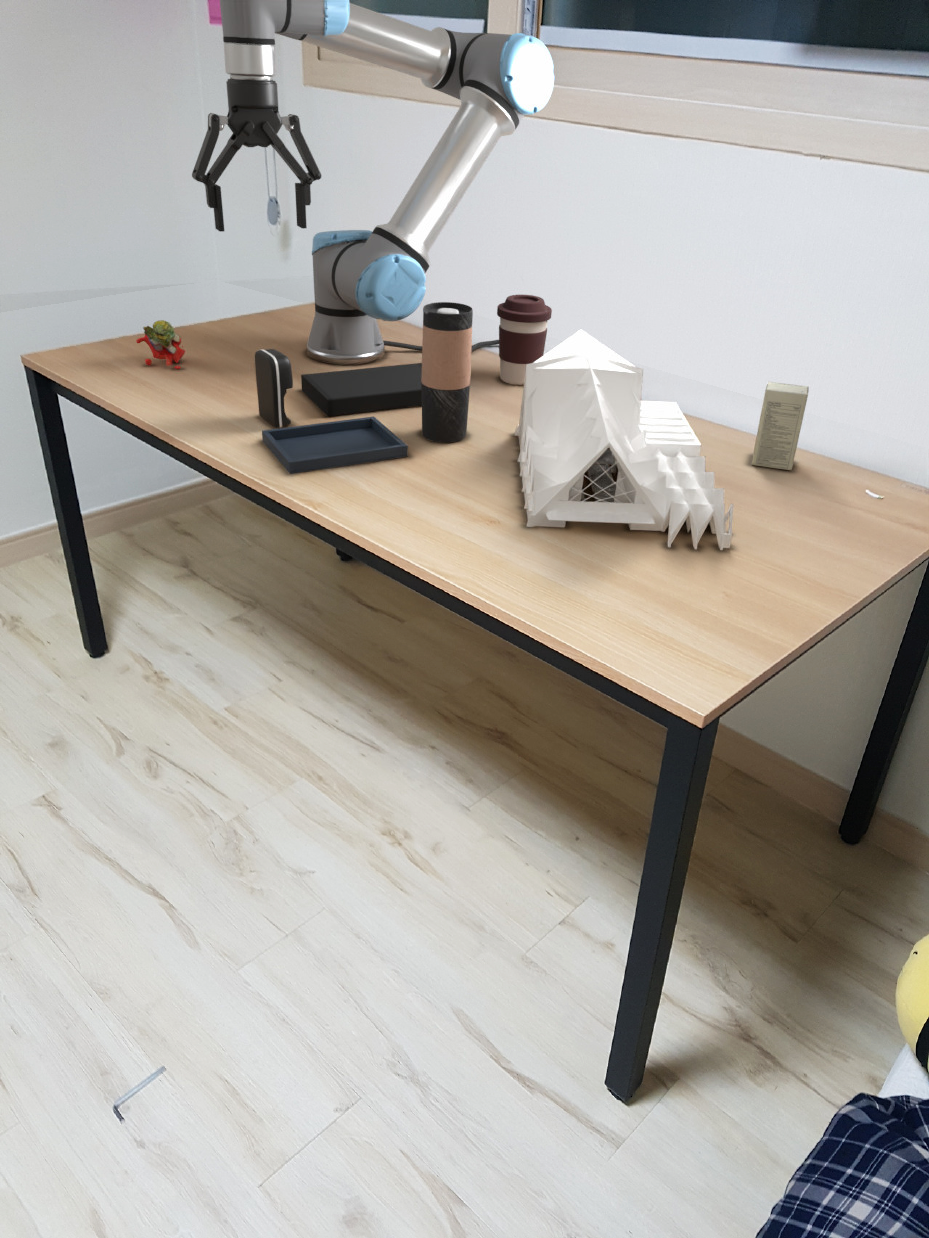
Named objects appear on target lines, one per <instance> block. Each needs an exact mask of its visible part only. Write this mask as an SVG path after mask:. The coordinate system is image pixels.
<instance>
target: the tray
mask: <svg viewBox="0 0 929 1238" xmlns="http://www.w3.org/2000/svg"><path fill="white" fill-rule="evenodd" d="M261 436H262V437H261V439H262V443H263V444H264V445H265V446H266V447H267V449H268V450H269V451H270V452H271V453H272V455H273V456H274V457H275V458H276V460H277V461H278V462H279V463H280V465H282V467H283V468H284V469H285V470H286V471H287V473H288V474H289V475H292V474H299V473H300V474H301V473H305V472H313V471H314V472H315V471H320V470H327V469H334V468H339V467H347V466H354V465H361V464H366V463H374V462H381V461H387V460H394V459H400V458H407V457H409V445H408V444H406V442H404V441H403V440H402V439H401V438H400V437H399V436H397V435H396V434H395V433H394V432H393V431H391V429H389V428H388V427H387V426H385V424H383V422H381V421H380V420H379V419H378V418H376V417H375V416H366V417H359V418H358V417H357V418H350V419H343V420H334V421H327V422H319V423H311V424H304V425H295V426H286V427H281V428H279V427H278V428H271V429H262V430H261Z"/></svg>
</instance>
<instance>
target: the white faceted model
mask: <svg viewBox="0 0 929 1238" xmlns="http://www.w3.org/2000/svg"><path fill="white" fill-rule="evenodd" d="M643 383H644V368H641V367H638V366H635V365H634V364H632V363H630V362H629V361H628V360H626V359H625V358H624V357H622V356H621V355H619V354H617V353H616V352H615V351H614V350H612V349H611V348H609V347H608V346H606V345H605V344H603V343H602V342H600V341H599V340H598V339H596V338H594V337H593V336H592V335H590V334H589V333H588V332H586V331H584V330H583V329H582V328H580V329H579V330H578V331H576V332H574V333H573V334H572V335H571V336H569V337H567V338H566V339H565V340H564V341H561V342H560V343H559V344H558V345H556V346H555V347H554V348H552V349H550V350H549V351H547V352H546V353H545V354H543V356H542V357H540V358H539V359H538V360H536V361H535V362H533V363H530V364H526V372H525V380H524V385H523V387H522V388H523V389H522V397H521V404H520V412H519V421H518V424H517V425H516V428H515V431H514V433H513V436H517V437H518V446H519V447H520V449H519V451H520V452H519V455H518V458H517V463H519V469H520V473H519V477H521V483H522V489H521V492H522V493H523V498H524V507H523V508H524V510H526V518H527V523H526V528H534V527H543V528H544V527H547V528H549V527H550V528H565V527H566V522H583V523H607V524H627V525H628V527H629V530H630V531H656V532H658V531H659V532H661V533H665V531H666V530H667V528H668V531H667V532H668V534H667V548H671V547H672V543H673V542H674V541H675V539H676V537H677V536H678V534H679V532H680V530H681V528H682V527H683V525H684V523H686V530H687V533H689V532H691V540H692V546H693V549H694V550H697V549H698V544H699V542H700V540H701V538H702V536H703V535H704V533H705V530H706V529H707V528H708V525H709V528H710V533H711V534H713V535H716V540H717V544H718V545H717V546H718V548H719V550H720V551H723V550H724V549H731V548H730V547H731V543H732V538H733V517H734V503H730V505H729V508H728V510H727V512H726V503H725V488H722V487H715V471H706V456H703V455H702V456H701V452H702V451H701V450H702V443H701V442H700V440H699V438H698V436H697V435H696V433H695V431H694V430H693V428H692V427H691V425H690V424H689V421H688V420H687V419H686V417H685V415H684V413H683V412H682V410H681V408H680V407H679V405H678V404H677V402H676V401H657V400H656V401H653V400H642V399H643ZM610 465H611V466H610ZM585 473H586V474H587V475H588V476H587V475H585ZM612 474H617V476H616V481H615V480H614V478H613V477H614V476H613V475H612ZM584 477H585V478H587V480H589V482H590V483H589V484H588V485H587V486H586V487H584V488H583V485H584ZM590 486H591V489H592V492H593V494H592V495H591V494H589V493H586V492H585V490H586V489H587V488H589V487H590ZM585 495H587V496H588V497H587V498H586V496H585ZM590 498H594V501H588V499H590ZM727 522H728V528H727ZM727 530H728V531H727Z"/></svg>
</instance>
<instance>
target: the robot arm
mask: <svg viewBox="0 0 929 1238" xmlns="http://www.w3.org/2000/svg"><path fill="white" fill-rule="evenodd" d="M219 8H220V17H221V18H220V19H221V29H222V41H223V52H224V53H223V54H224V67H225V68H224V70H225V73H226V75H229V77H230V78H227V80H226V82H225V83H226V94H227V95H226V97H227V108H228V112H227V115H220V114H217V113H213V112H210V113H208V115H207V130H206V133H205V136H204V139H203V142H202V144H201V147H200V150H199V152H198V156H197V158H196V161H195V164H194V167H193V169H192V173H191V178H192V179H193V180H195V181H196V182H199V183H202V184H203V185H204V187H205V188H204V189H205V199H206V204H207V207H208V208H209V209H213V215H214V216H213V217H214V226H215V227H214V228H215V230H216V231H218V232H225V222H224V209H223V198H222V197H223V196H222V188H221V186H220V185H218V184H217V182H218V180H219V179H220V177H221V176H222V175H223V173H224V171H225V170H226V169H227V167H228V166H229V164H230V163H231V161H233V159H234V157H235V156H236V154H237V152H238V151H240V150H241V148H242V147H247V148H255V147H260V148H269V146H271V147H272V148H273V150H275V151H276V153H277V154H278V156H279V157H280V158H281V159H282V160H283V161H284V163H285V164H286V165H287V167H288V168H289V169H290V171H291V172H292V173H293V174H294V175H295V176H296V178H297V180H299V182H295V183H294V190H295V191H294V192H295V207H296V208H295V212H296V213H295V214H296V215H295V216H296V226H297V227H298V228H300V229H307V206H311V203H312V195H311V194H312V193H311V185H312V184H313V182H316V181H319V180H321V179H322V173H321V171H320V168H319V167H318V165H317V163H316V160H315V158H314V156H313V153H312V151H311V149H310V147H309V145H308V143H307V141H306V139H305V136H304V135H303V132H302V129H301V121H300V117H299V116H298V115H296V114H293V113H289V114H288V115H285V116H281V115H280V112H279V95H278V93H279V92H278V83H277V82H276V80H274V77H276V76H277V73H278V71H277V59H276V57H277V56H276V40H275V39H276V38H275V37H276V35H279V36H280V35H281V36H283V37H287V38H289V39H292V40H297V41H299V42H303V43H306V44H310V45H312V46H316V47H319V48H322V49H325V50H329V51H332V52H335V53H338V54H342V55H345V56H348V57H350V58H353V59H358V60H359V61H364V62H367V63H370V64H373V65H377V66H379V67H382V68H387V69H390V70H392V71H396V72H399V73H402V74H404V75H409V76H412V77H415V78H418V79H420V81H421V83H422V84H423V86H425V87H426V88H429V89H432V90H435V91H438V92H441V93H443V94H445V95H448V96H450V97H452V98H455V99H457V100H459V101H460V107H459V108H458V110H457V111H456V113H455V114H454V116H453V118H452V120H451V121H450V123H449V124H448V125H447V128H446V129H445V131H444V132H443V134H442V136H441V137H440V139H439V141H438V142H437V144H436V145H435V147H434V148H433V149H432V152H431V154H430V155H429V156H428V158H427V160H426V161H425V163H424V165H423V166H422V168H421V169H420V171H419V173H418V174H417V176H416V178H415V179H414V180H413V183H412V184H411V186H410V187H409V189H408V190H407V192H406V194H405V195H404V197H403V199H402V200H401V202H400V203H399V205H398V207H397V208H396V209H395V211H394V213H393V215H392V217H390V220H389V221H388V222H387V223H383V224H377V225H376V226H374V228H373V230H368V229H346V230H344V229H343V230H342V229H341V230H328V231H320V232H316V234H314V236H313V237H312V249H311V250H312V251H311V256H312V271H313V272H312V274H313V293H314V295H313V296H314V317H313V321H312V323H311V328H310V331H309V336H308V338H307V342H306V350H307V356H309V358H311V359H313V360H315V361H317V362H322V363H326V364H331V365H332V364H333V365H363V364H368V363H373V362H376V361H379V360H381V359H382V358H383V357H384V356H385V346H387V347H392V348H393V347H394V348H400V349H407V350H412V351H417V352H422V346H421V345H417V344H409V343H404V342H399V341H397V342H396V341H389V340H384V339H383V336H382V332H381V329H380V326H379V323H378V320H381V321H385V322H397V321H401V320H404V319H406V318H408V317H409V316H411V315H412V314H413V313H414V312H415V311H416V310H417V309H418V308H419V307H420V305H421V303H422V302H423V300H424V297H425V294H426V290H427V287H426V283H427V277H426V273H427V271H428V270H429V268H430V266H431V261H430V257H429V252H430V251H431V250H432V248H433V246H434V244H435V242H436V241H437V239H438V238H439V236H440V235H441V233H442V231H443V230H444V228H445V226H446V225H447V224H448V222H449V220H450V219H451V217H452V216H453V214H454V212H455V211H456V209H457V208H458V206H459V204H460V202H461V201H462V199H463V198H464V196H465V195H466V193H467V191H468V190H469V188H470V187H471V185H472V183H473V182H474V180H475V179H476V177H477V175H478V174H479V172H480V171H481V169H482V168H483V166H484V164H485V162H486V161H487V159H488V158H489V157H490V155H491V153H492V152H493V150H494V148H495V147H496V145H497V143H498V142H499V140H500V138H502V137H506V136H510V135H513V134H514V133H515V131H516V130H517V128H518V126H520V124H521V122H522V120H523V119H524V118H525V115H526V116H527V115H533V114H536V113H538V112H540V111H542V109H544V107H545V106H546V105H547V104H548V102H549V101H550V98H551V95H552V93H553V90H554V85H555V74H554V69H555V67H554V61H553V58H552V55H551V53H550V51H549V49H548V48H547V46H546V44H545V43H543V41H541V40H540V39H539V38H537V37H535V36H533V35H527V34H524V33H523V32H516V33H512V34H508V33H495V32H494V33H492V32H460V31H453V30H449V29H446V28H444V27H440V26H436V27H434V28H432V29H431V30H429V29H426V28H424V27H420V26H418V25H415V24H412V23H409V22H406V21H403V20H400V19H398V18H395V17H392V16H389V15H386V14H383V13H380V12H378V11H376V10H375V11H374V10H372V9H369V8H366V7H363V6H360V5H357V4H354V3H353V2H352V3H351V2H350V0H219ZM275 34H276V35H275ZM226 125H227V127H228V128H229V130H230V131H231V133H232V134H231V136H229V138H228V139H227V141H226V144H225V146H224V147H223V149H222V150H221V151H220V153H219V155H218V156H217V158H216V159H215V161H214V162H213V164H212V165H211V167H210V168H209V170H208V167H209V164H210V161H211V159H212V156H213V153H214V151H215V148H216V145H217V142H218V139H219V136H220V131H223V130H224V128H225V126H226ZM282 126H283V127H284V129H285V130H286V131H287V132H289V134H290V137H291V139H292V141H293V144H294V145H295V147H296V149H297V152H298V154H299V156H300V158H301V160H302V163H303V164H304V167H305V168H306V170H307V172H306V171H305V169H304V168H303V167H302V165H301V164H300V163H299V161H298V160H297V159H296V158H295V157H294V155H293V154H292V152H291V151H290V150H289V149H288V148H287V146H286V145H285V143H284V142H283V140H282V138H280V136H279V135H278V134H279V132H280V130H281V128H282ZM207 170H208V171H207ZM497 345H499V339H494V340H486V341H480V342H479V341H478V342H476V343H474V344H472V347H471V353H472V352H474V351H476V350H477V349H479V348H482V347H488V346H497Z"/></svg>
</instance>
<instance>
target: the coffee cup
mask: <svg viewBox="0 0 929 1238" xmlns="http://www.w3.org/2000/svg"><path fill="white" fill-rule="evenodd" d="M496 308H497V309H496V315H497V316H498V318H499V325H498V340H499V344H498V357H499V378H500V379H501V380H502V381H503V382H505V383H507V384H510V385H514V386H524V380H525V372H526V364H530V363H533V362H535V361H536V360H538V359H539V358H540V357H542V356H543V355H545V354H544V352H545V347H546V342H547V341H546V340H547V333H548V328H547V326H548V321H550V319H552V312H553V309H552V308H551V306H548V305H546V302H545V300H544V298H543V297H541V296H537V295H533V294H512V295H508V296H507V297H506V299H505V300H504V302H501V303H499V304H498V305H497V307H496Z"/></svg>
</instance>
